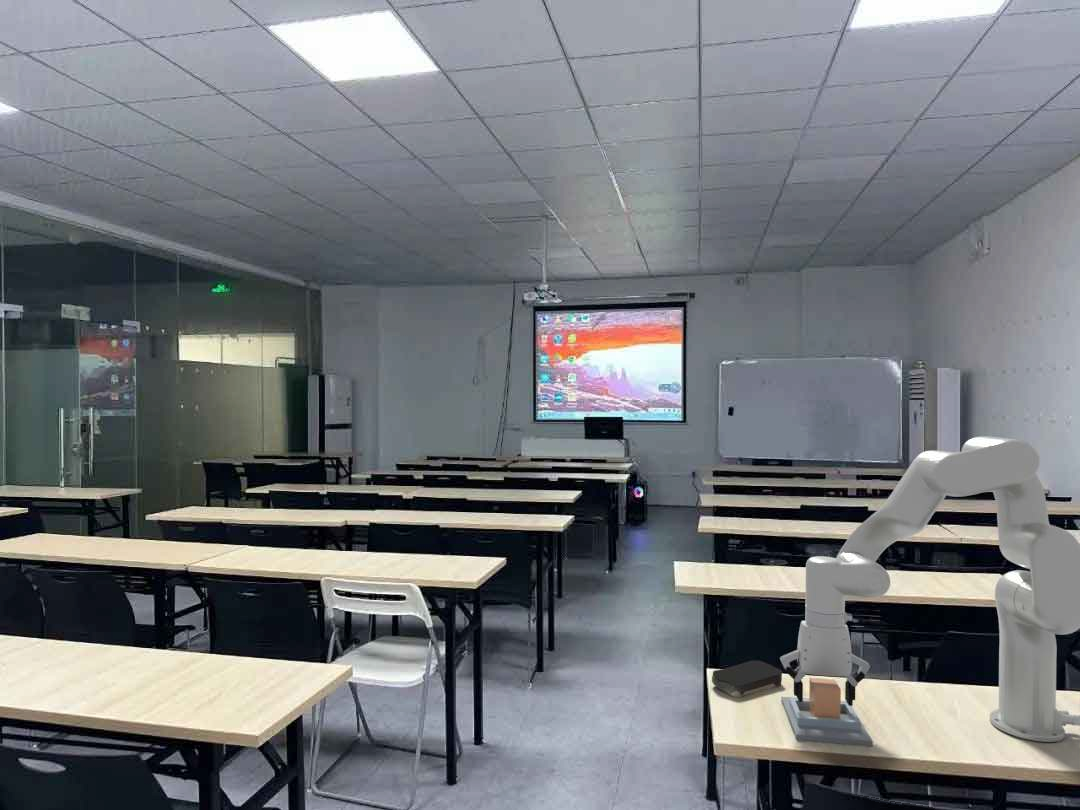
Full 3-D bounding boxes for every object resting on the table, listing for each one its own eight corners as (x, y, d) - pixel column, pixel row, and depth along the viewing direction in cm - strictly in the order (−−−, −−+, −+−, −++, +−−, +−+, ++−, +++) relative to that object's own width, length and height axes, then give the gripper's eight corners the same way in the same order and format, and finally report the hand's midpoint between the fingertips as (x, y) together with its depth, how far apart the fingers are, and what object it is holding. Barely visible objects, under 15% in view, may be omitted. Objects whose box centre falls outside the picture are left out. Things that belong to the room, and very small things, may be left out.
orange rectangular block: (834, 713, 147) (834, 679, 147) (840, 723, 142) (840, 689, 142) (809, 711, 148) (809, 677, 148) (814, 721, 143) (814, 687, 143)
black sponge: (757, 674, 171) (757, 659, 171) (785, 686, 164) (785, 670, 164) (707, 687, 163) (708, 671, 163) (735, 701, 156) (735, 684, 156)
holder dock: (848, 706, 153) (848, 694, 153) (872, 746, 135) (872, 733, 135) (781, 701, 155) (781, 689, 155) (796, 739, 138) (796, 726, 138)
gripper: (864, 615, 147) (863, 697, 147) (778, 610, 150) (777, 690, 150) (875, 626, 140) (874, 712, 140) (783, 621, 143) (783, 705, 143)
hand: (824, 701), depth 145 cm, fingers open, 9 cm apart
